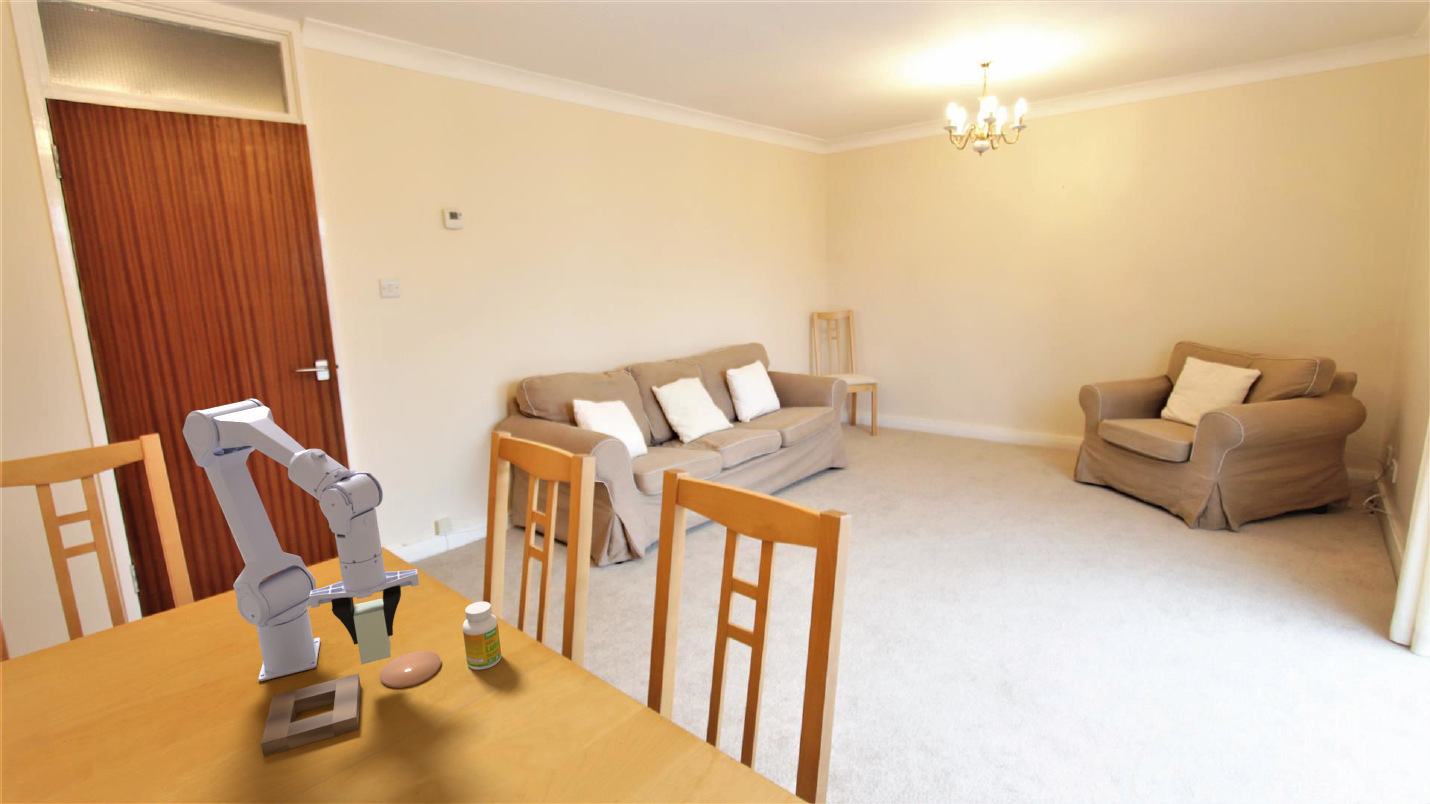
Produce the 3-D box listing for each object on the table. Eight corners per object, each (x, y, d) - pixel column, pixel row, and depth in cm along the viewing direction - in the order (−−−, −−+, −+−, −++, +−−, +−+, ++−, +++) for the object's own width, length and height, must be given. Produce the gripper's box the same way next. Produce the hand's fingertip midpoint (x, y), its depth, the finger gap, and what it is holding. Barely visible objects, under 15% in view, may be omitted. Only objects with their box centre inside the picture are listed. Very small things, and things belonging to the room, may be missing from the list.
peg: (362, 651, 105) (354, 604, 104) (390, 644, 107) (383, 598, 105) (361, 664, 102) (353, 616, 100) (390, 657, 103) (383, 609, 102)
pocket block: (275, 707, 101) (273, 695, 101) (360, 684, 106) (358, 673, 106) (263, 756, 91) (260, 743, 91) (358, 729, 96) (356, 716, 95)
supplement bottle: (490, 672, 108) (484, 617, 106) (460, 669, 109) (453, 614, 107) (507, 653, 113) (501, 600, 111) (478, 650, 114) (472, 597, 112)
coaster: (380, 663, 111) (379, 660, 111) (438, 648, 115) (438, 645, 115) (380, 694, 103) (379, 691, 103) (443, 677, 107) (442, 674, 107)
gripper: (301, 577, 94) (317, 663, 97) (414, 555, 100) (425, 637, 103) (307, 557, 101) (321, 639, 104) (412, 537, 106) (423, 615, 109)
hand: (373, 636), depth 104 cm, fingers closed on peg, 4 cm apart
